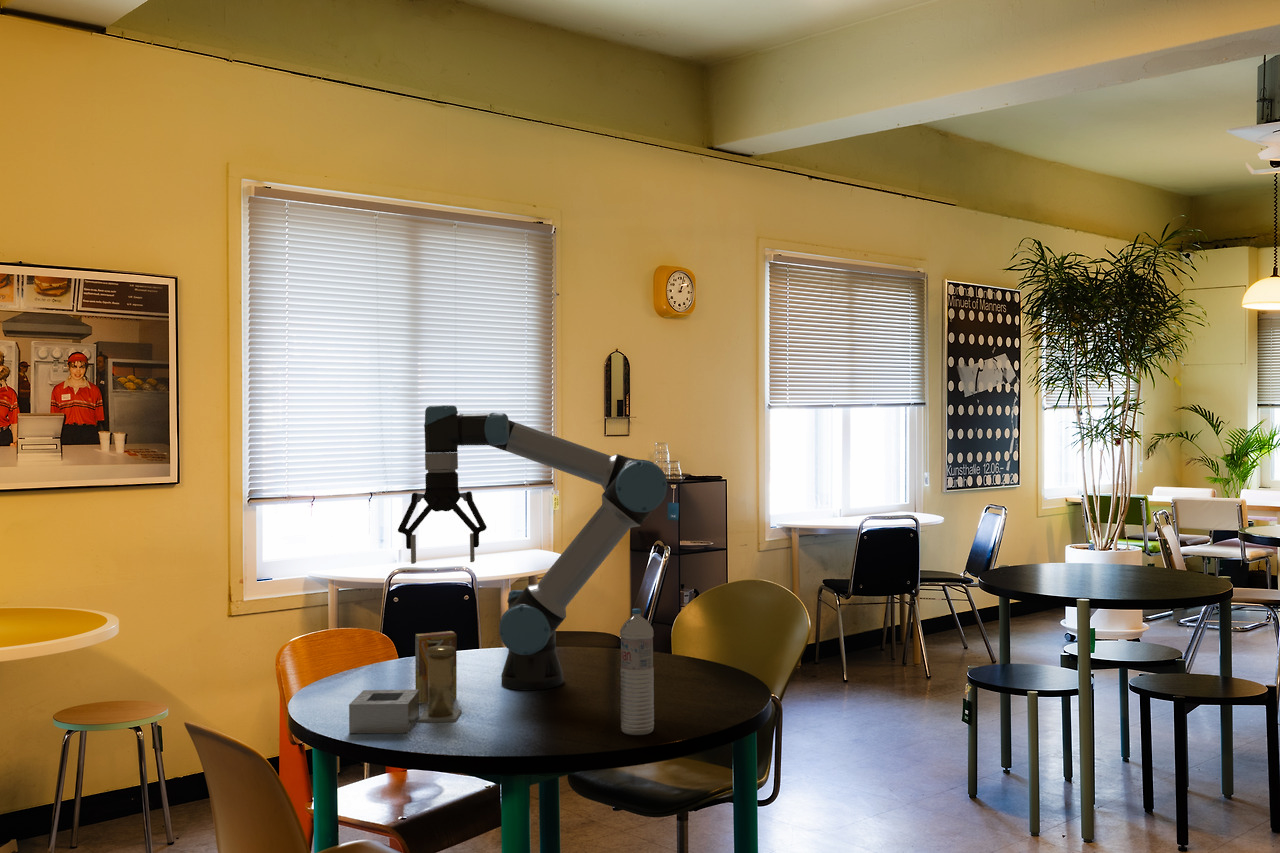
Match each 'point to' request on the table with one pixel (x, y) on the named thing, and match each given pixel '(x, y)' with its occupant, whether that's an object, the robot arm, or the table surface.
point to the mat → (452, 718)
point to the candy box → (422, 659)
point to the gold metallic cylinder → (440, 681)
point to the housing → (384, 711)
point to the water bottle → (637, 676)
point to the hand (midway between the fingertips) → (443, 562)
